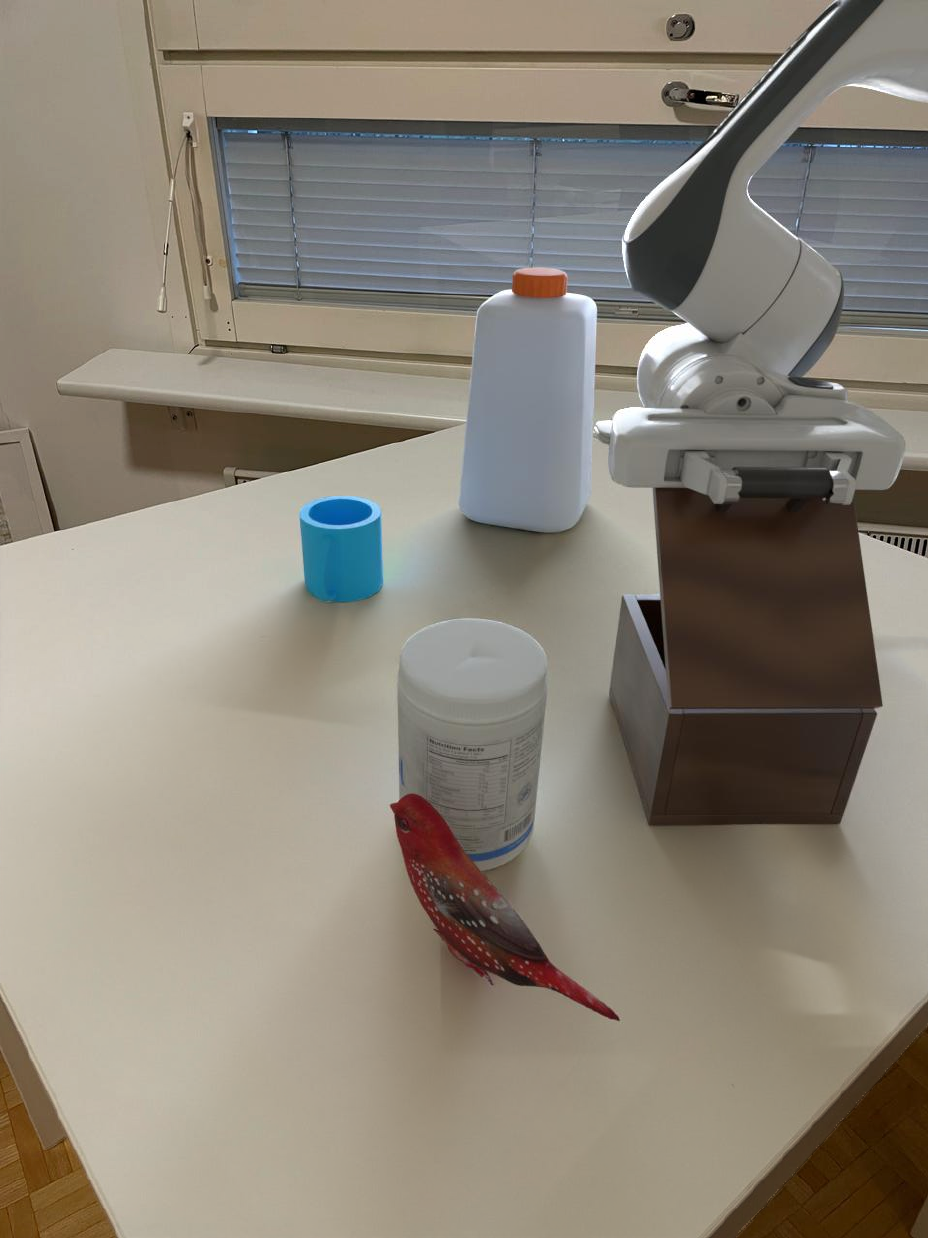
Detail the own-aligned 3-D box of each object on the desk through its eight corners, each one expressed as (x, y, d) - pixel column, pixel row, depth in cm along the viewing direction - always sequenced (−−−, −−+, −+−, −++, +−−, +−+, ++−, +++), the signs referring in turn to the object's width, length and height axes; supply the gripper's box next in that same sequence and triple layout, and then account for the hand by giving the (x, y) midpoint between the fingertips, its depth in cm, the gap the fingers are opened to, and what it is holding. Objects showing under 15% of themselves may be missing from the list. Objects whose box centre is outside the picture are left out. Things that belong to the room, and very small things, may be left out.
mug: (320, 561, 96) (315, 492, 92) (391, 569, 95) (390, 499, 90) (279, 615, 86) (271, 540, 82) (359, 626, 84) (355, 550, 80)
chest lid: (650, 471, 62) (673, 432, 56) (844, 473, 62) (886, 434, 57) (668, 709, 57) (694, 692, 52) (877, 708, 58) (925, 692, 52)
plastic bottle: (572, 541, 102) (597, 288, 87) (449, 522, 105) (453, 277, 91) (594, 493, 114) (619, 265, 100) (484, 478, 118) (492, 256, 103)
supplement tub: (404, 779, 66) (401, 612, 58) (530, 782, 66) (544, 615, 58) (394, 879, 57) (390, 698, 50) (538, 882, 57) (555, 703, 50)
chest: (608, 693, 76) (622, 593, 71) (766, 693, 76) (791, 594, 71) (648, 826, 62) (669, 714, 57) (840, 824, 63) (878, 713, 58)
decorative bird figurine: (409, 883, 57) (407, 765, 52) (623, 1075, 46) (648, 951, 41) (374, 906, 55) (369, 787, 50) (588, 1112, 45) (610, 987, 39)
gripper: (594, 379, 65) (631, 444, 53) (862, 383, 66) (956, 448, 54) (586, 459, 68) (619, 537, 57) (841, 462, 69) (926, 539, 57)
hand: (786, 493), depth 55 cm, fingers closed on chest lid, 6 cm apart
